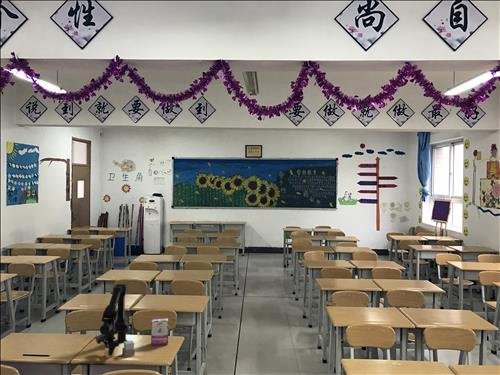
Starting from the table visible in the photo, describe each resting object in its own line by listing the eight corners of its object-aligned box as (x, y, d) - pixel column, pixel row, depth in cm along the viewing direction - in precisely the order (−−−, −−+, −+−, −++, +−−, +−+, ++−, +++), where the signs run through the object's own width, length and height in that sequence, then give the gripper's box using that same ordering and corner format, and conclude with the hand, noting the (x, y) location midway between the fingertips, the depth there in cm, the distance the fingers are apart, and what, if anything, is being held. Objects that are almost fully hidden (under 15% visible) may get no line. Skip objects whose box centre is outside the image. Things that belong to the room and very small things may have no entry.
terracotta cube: (104, 355, 273) (104, 348, 273) (111, 354, 275) (111, 347, 275) (106, 358, 269) (106, 350, 269) (113, 356, 271) (114, 349, 271)
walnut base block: (122, 354, 276) (122, 348, 276) (131, 352, 279) (131, 346, 279) (125, 357, 271) (125, 351, 271) (134, 355, 274) (134, 349, 274)
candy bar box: (167, 342, 299) (168, 318, 299) (168, 344, 294) (168, 320, 294) (151, 343, 297) (151, 318, 297) (150, 345, 292) (151, 321, 292)
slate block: (123, 348, 276) (123, 341, 276) (131, 346, 278) (131, 340, 278) (126, 350, 271) (126, 344, 271) (134, 349, 274) (134, 342, 274)
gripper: (92, 327, 275) (91, 352, 275) (101, 335, 260) (100, 362, 260) (110, 324, 282) (109, 348, 281) (119, 332, 266) (118, 358, 266)
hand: (109, 354), depth 272 cm, fingers closed on terracotta cube, 4 cm apart
